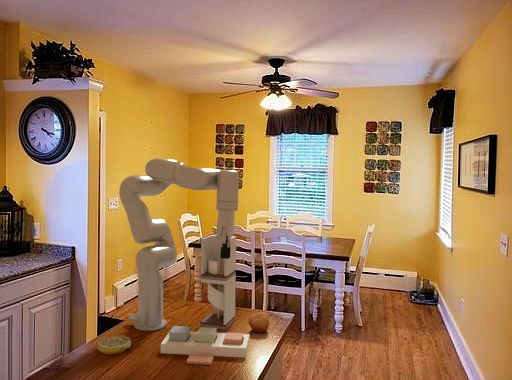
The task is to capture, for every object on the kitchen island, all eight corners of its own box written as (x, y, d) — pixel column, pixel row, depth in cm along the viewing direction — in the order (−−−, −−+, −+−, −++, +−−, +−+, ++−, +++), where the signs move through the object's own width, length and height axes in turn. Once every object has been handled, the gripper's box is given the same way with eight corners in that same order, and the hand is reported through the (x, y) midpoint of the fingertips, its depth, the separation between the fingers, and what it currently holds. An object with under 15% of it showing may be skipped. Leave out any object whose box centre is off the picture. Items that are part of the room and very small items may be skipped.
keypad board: (160, 353, 144) (160, 343, 144) (170, 339, 156) (170, 330, 156) (245, 357, 142) (246, 348, 142) (249, 343, 154) (249, 334, 154)
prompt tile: (186, 363, 137) (186, 361, 137) (190, 356, 142) (190, 354, 142) (211, 364, 136) (211, 362, 136) (213, 357, 141) (213, 355, 141)
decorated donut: (136, 349, 147) (136, 339, 147) (107, 359, 139) (107, 348, 139) (121, 341, 154) (121, 330, 154) (92, 349, 146) (92, 339, 146)
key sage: (196, 342, 146) (196, 333, 146) (199, 336, 152) (199, 327, 152) (213, 343, 146) (213, 334, 146) (216, 336, 152) (216, 328, 152)
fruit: (270, 322, 171) (269, 308, 167) (268, 339, 164) (268, 325, 160) (250, 321, 172) (249, 307, 167) (248, 337, 165) (247, 324, 161)
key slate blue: (169, 341, 147) (169, 332, 147) (173, 334, 153) (173, 325, 153) (186, 342, 146) (186, 333, 146) (190, 335, 152) (190, 326, 152)
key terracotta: (223, 348, 145) (223, 339, 145) (226, 341, 151) (226, 332, 151) (241, 349, 145) (241, 339, 145) (243, 342, 151) (243, 333, 151)
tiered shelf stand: (210, 317, 180) (212, 234, 178) (234, 320, 177) (236, 236, 175) (200, 326, 169) (201, 238, 167) (225, 329, 166) (226, 240, 164)
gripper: (219, 203, 156) (218, 253, 157) (212, 207, 141) (210, 262, 142) (240, 204, 155) (238, 254, 156) (235, 208, 140) (233, 263, 141)
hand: (225, 257), depth 149 cm, fingers closed
